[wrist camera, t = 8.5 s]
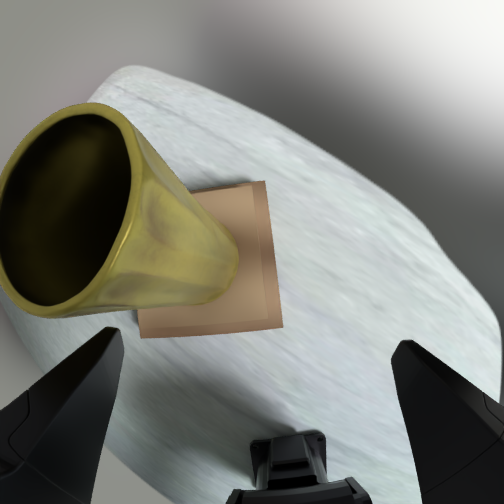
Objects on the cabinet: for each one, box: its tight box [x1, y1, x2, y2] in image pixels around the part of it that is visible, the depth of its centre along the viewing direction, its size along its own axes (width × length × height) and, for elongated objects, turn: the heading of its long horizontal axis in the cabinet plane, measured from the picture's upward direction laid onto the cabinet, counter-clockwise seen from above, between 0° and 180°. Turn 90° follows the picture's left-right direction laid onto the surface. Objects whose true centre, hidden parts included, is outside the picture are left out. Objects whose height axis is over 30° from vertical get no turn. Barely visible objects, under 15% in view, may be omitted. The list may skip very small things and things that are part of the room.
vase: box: [0, 103, 239, 319], centre depth 12 cm, size 6×6×14 cm
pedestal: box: [137, 181, 283, 338], centre depth 21 cm, size 11×11×4 cm
